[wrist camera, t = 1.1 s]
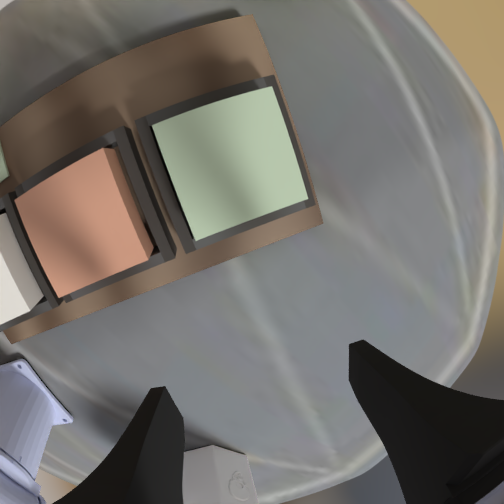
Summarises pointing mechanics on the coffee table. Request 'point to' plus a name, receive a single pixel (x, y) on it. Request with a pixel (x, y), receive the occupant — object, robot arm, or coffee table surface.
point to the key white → (14, 276)
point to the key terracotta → (84, 223)
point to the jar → (217, 477)
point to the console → (143, 158)
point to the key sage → (231, 161)
